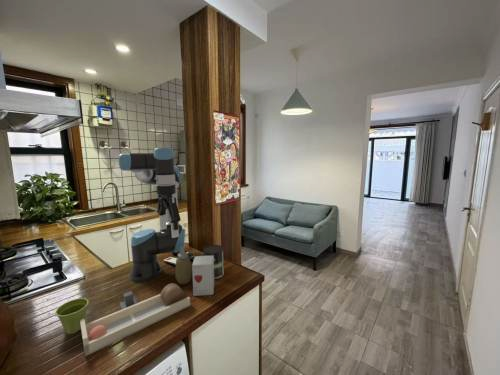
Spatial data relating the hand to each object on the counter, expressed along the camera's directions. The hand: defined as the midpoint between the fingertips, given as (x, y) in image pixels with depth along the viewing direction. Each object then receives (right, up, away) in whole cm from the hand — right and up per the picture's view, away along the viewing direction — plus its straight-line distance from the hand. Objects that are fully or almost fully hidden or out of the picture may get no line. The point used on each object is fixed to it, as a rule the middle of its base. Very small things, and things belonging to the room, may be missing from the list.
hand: (169, 233), depth 97 cm
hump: (+3, -29, -3) cm, 30 cm away
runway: (-7, -31, -12) cm, 34 cm away
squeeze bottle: (+2, -27, +14) cm, 31 cm away
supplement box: (+14, -28, +7) cm, 32 cm away
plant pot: (-29, -32, -16) cm, 46 cm away
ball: (-16, -29, -22) cm, 40 cm away
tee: (-16, -30, -3) cm, 34 cm away
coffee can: (+16, -26, +21) cm, 37 cm away
